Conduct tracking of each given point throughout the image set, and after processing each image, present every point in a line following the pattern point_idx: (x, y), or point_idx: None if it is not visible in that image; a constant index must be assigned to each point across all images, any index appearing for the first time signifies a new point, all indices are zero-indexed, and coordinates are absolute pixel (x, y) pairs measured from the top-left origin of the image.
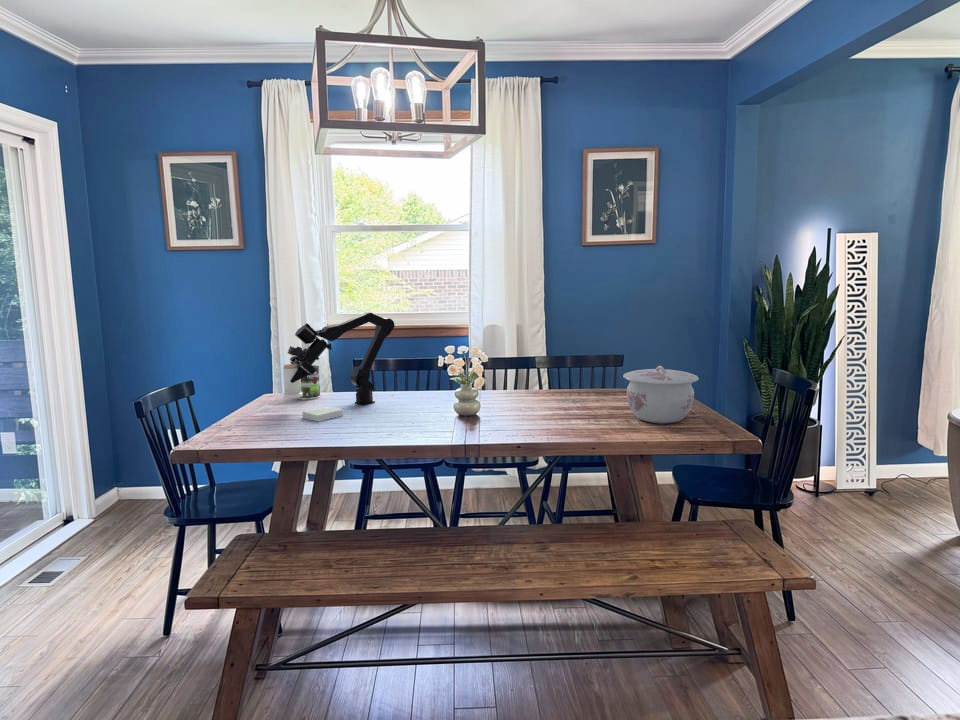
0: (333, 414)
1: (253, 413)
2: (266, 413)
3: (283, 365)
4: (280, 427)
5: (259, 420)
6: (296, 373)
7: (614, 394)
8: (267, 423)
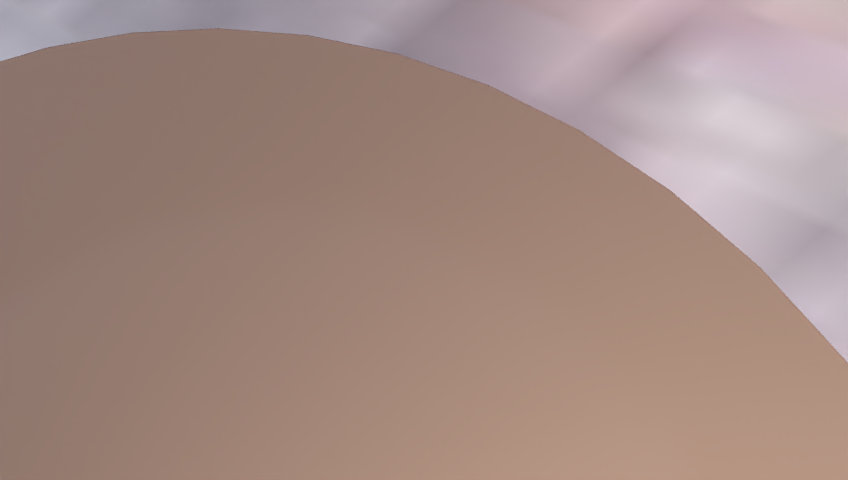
0: None
1: (814, 93)
2: (695, 193)
3: (539, 114)
4: (64, 30)
5: (445, 8)
6: None
7: None
8: (277, 12)
